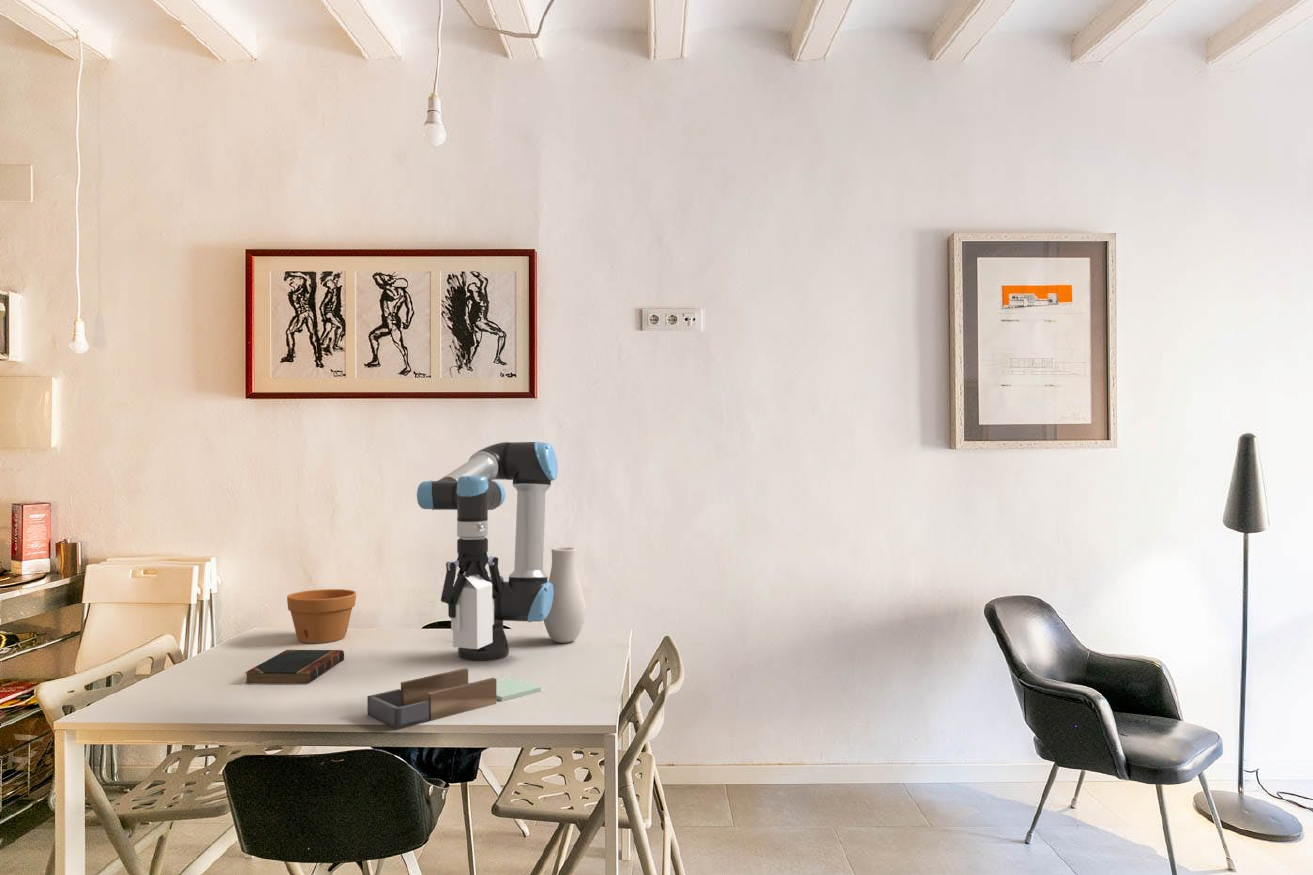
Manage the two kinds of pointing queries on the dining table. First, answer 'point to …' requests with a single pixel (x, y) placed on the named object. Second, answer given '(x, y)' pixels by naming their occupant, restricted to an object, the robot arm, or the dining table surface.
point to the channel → (449, 693)
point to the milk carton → (474, 614)
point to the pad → (513, 688)
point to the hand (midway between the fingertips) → (472, 627)
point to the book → (295, 667)
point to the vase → (565, 597)
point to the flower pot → (321, 614)
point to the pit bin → (396, 710)
